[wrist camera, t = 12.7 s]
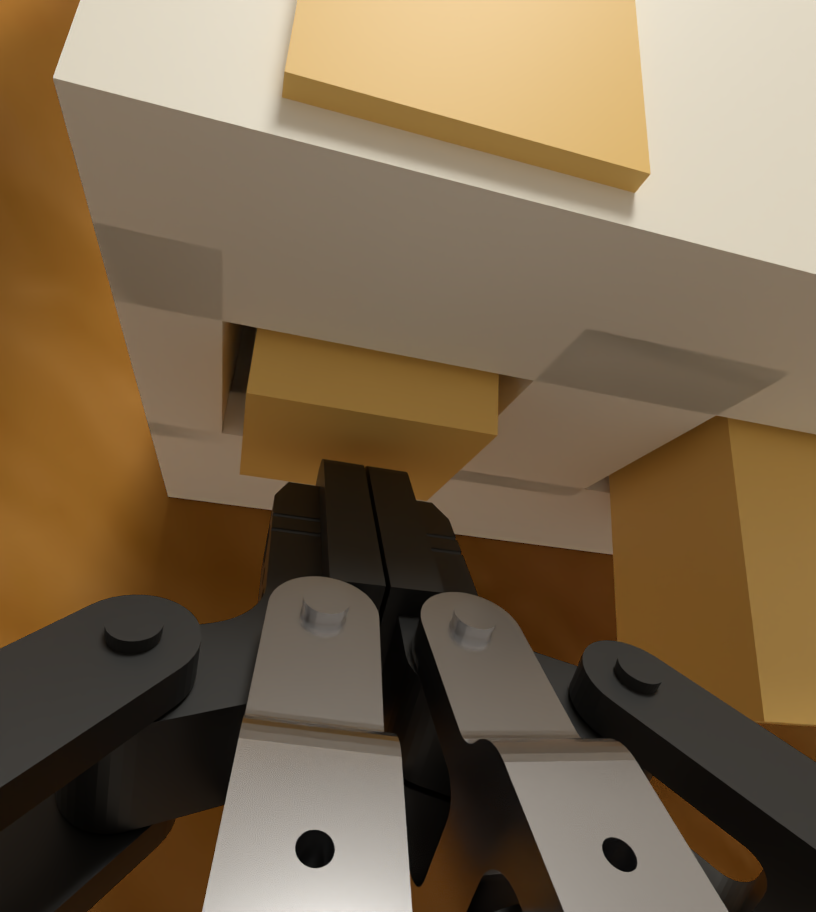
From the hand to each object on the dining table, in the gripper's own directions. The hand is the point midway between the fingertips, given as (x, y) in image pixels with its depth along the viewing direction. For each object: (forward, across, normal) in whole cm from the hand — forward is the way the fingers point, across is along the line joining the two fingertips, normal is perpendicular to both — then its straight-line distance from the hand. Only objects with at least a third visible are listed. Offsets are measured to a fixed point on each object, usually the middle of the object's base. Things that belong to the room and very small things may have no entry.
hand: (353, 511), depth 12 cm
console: (+9, +8, -2) cm, 13 cm away
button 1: (+4, 0, +1) cm, 4 cm away
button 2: (+1, +8, -1) cm, 9 cm away
